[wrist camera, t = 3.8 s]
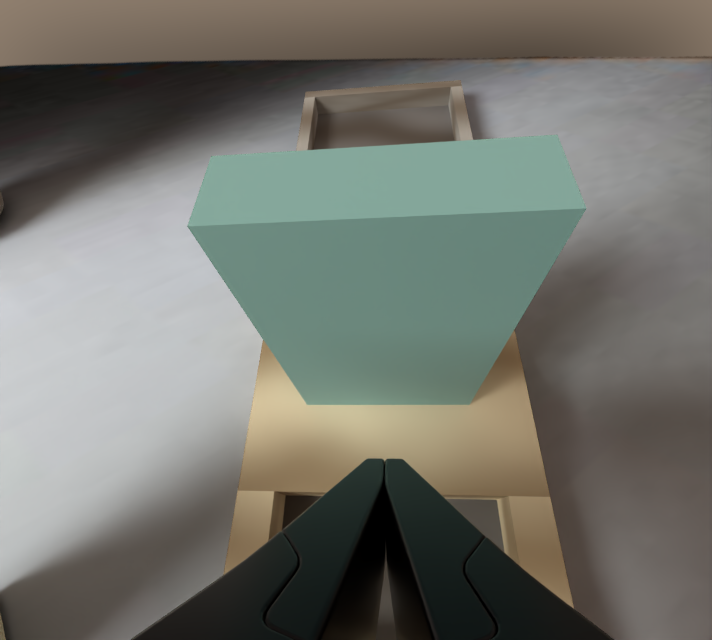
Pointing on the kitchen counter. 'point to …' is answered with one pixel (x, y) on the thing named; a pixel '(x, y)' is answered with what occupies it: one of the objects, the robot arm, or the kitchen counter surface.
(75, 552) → the kitchen counter surface
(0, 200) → the plastic bottle
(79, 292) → the kitchen counter surface
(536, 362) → the kitchen counter surface
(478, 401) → the birch board
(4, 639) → the box
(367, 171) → the teal L-block
